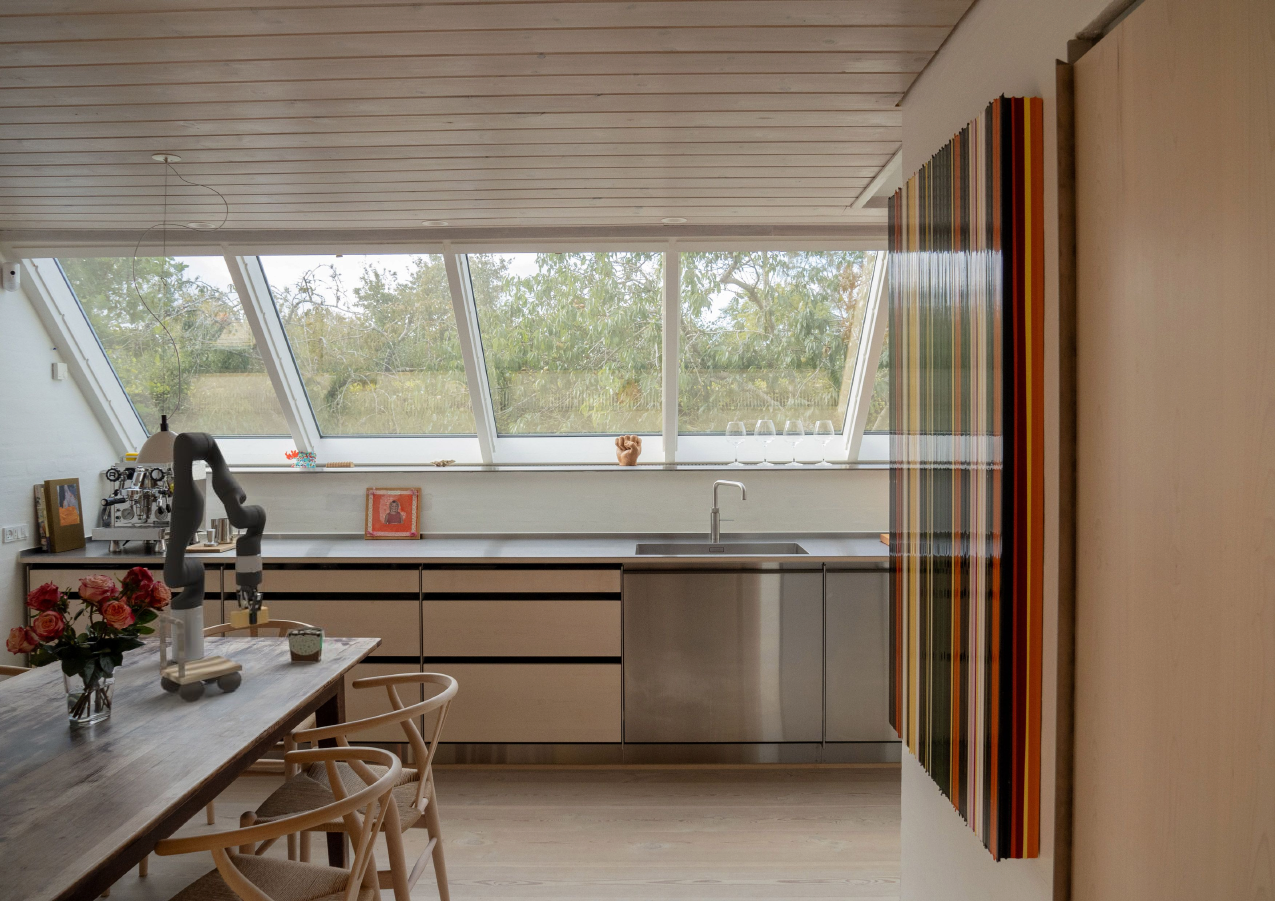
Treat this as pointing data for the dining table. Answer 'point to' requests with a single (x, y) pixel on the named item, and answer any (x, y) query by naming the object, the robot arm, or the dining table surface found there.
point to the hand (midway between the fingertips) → (250, 622)
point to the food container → (305, 644)
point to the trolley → (194, 668)
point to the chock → (242, 617)
